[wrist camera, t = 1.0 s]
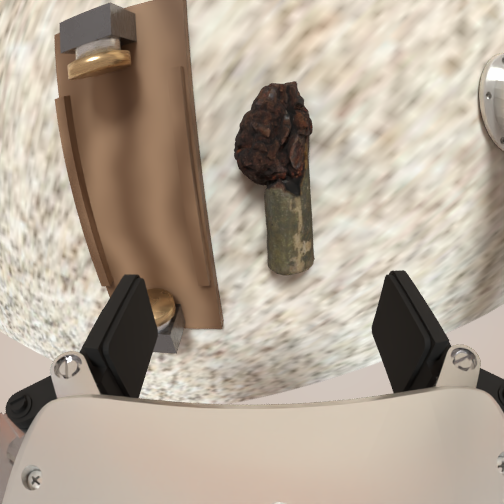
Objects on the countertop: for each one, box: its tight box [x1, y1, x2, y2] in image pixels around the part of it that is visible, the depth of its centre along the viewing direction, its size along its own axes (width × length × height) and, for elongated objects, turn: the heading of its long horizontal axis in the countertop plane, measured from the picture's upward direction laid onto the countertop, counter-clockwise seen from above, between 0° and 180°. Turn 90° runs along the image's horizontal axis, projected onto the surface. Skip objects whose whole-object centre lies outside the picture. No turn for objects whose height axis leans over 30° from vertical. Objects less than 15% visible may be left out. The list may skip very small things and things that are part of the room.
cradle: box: [55, 0, 223, 329], centre depth 29 cm, size 14×37×3 cm, turn 4°
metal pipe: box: [234, 82, 314, 275], centre depth 27 cm, size 18×7×6 cm, turn 5°
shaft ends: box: [60, 3, 186, 353], centre depth 26 cm, size 6×35×6 cm, turn 4°
